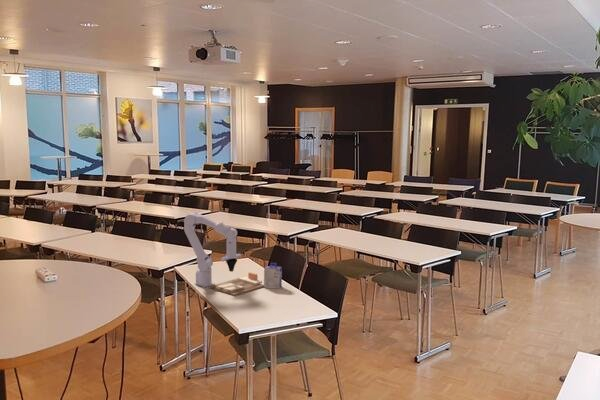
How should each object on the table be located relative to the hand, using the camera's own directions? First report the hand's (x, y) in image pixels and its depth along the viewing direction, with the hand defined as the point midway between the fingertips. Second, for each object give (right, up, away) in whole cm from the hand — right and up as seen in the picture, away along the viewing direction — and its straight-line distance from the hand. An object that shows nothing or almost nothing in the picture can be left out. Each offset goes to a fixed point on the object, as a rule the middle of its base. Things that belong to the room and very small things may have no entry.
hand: (231, 271), depth 295 cm
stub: (+11, -8, +8) cm, 15 cm away
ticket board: (+4, -10, -1) cm, 10 cm away
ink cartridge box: (+25, -10, +2) cm, 27 cm away
